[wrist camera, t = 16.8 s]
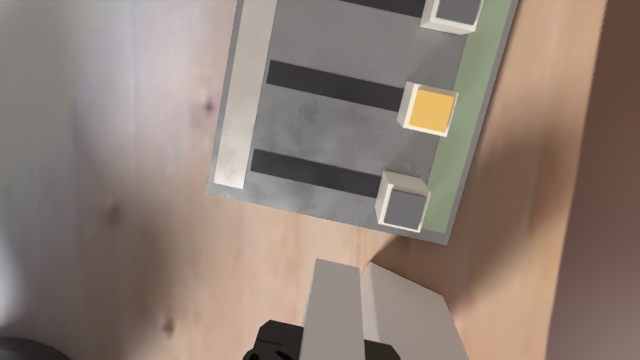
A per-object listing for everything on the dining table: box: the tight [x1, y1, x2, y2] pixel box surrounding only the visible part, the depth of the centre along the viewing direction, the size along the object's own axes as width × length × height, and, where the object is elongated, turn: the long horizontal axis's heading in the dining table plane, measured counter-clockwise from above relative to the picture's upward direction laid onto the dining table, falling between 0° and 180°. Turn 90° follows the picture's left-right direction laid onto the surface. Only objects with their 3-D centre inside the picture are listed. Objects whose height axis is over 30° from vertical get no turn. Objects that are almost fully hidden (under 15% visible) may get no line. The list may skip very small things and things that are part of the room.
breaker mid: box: [397, 81, 459, 137], centre depth 35 cm, size 3×3×5 cm
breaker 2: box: [419, 0, 483, 35], centre depth 34 cm, size 3×3×5 cm
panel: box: [206, 0, 518, 246], centre depth 39 cm, size 20×21×2 cm
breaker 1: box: [375, 170, 430, 233], centre depth 37 cm, size 3×3×5 cm
